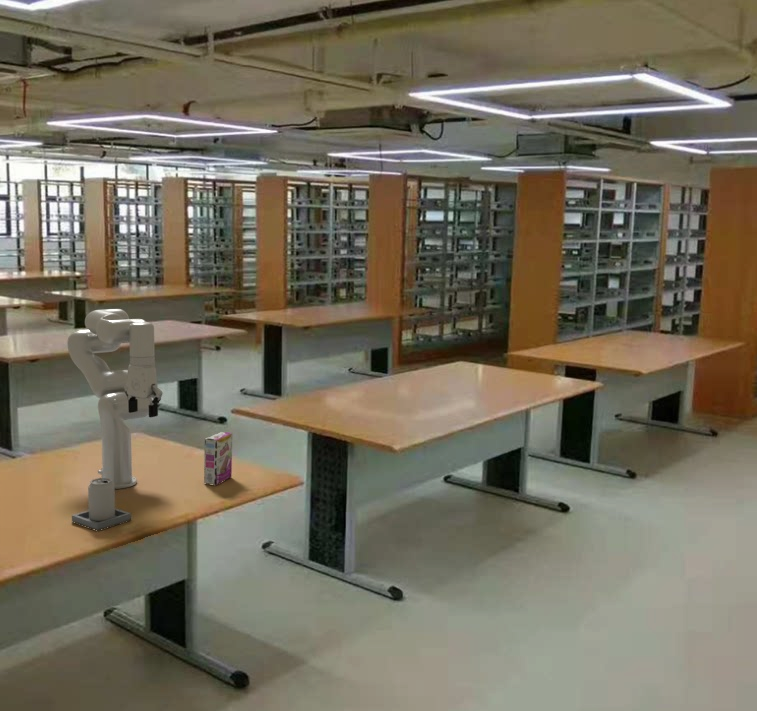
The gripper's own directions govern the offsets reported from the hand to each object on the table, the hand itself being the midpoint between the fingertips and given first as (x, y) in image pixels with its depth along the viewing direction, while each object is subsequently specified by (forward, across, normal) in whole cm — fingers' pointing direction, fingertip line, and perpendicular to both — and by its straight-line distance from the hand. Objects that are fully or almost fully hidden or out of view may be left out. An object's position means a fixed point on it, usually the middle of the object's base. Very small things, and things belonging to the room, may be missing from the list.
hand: (143, 414), depth 265 cm
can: (+28, +6, -21) cm, 35 cm away
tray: (+28, +6, -21) cm, 36 cm away
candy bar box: (+28, +4, +29) cm, 41 cm away
